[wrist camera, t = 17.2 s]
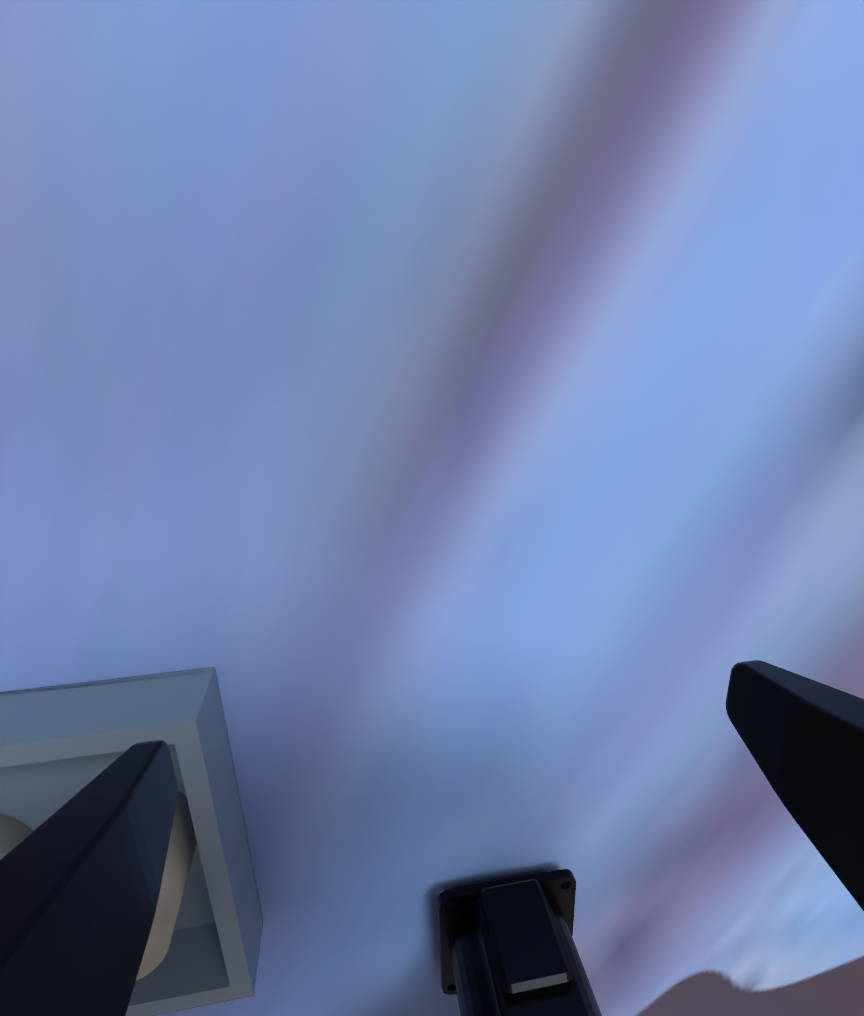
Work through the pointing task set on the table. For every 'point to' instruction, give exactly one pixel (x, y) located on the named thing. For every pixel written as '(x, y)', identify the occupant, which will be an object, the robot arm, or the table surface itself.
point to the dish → (200, 776)
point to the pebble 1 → (11, 834)
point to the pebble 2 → (171, 886)
